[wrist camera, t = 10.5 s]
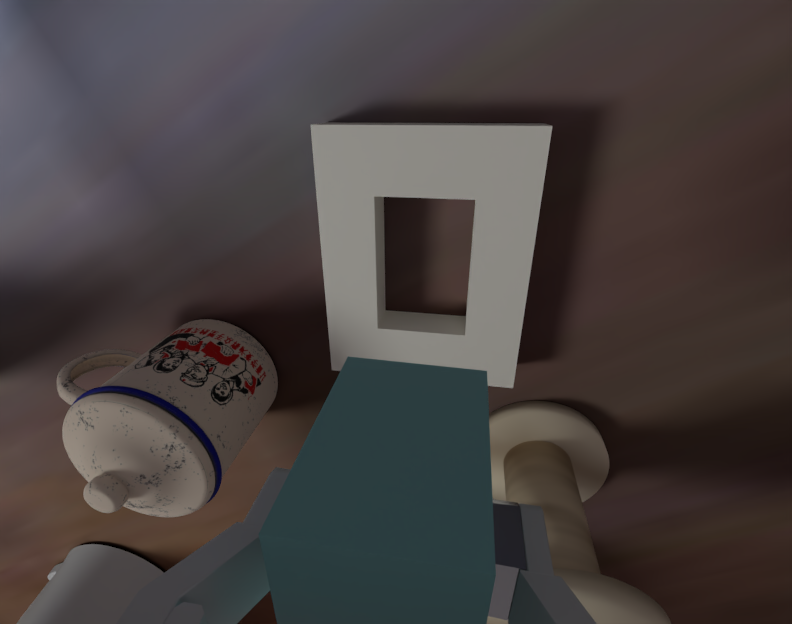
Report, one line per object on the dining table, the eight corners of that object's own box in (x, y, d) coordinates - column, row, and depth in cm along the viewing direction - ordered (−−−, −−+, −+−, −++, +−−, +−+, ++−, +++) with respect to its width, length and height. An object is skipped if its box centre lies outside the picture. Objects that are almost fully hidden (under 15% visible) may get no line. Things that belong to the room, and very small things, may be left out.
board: (510, 365, 26) (512, 388, 24) (342, 350, 28) (331, 370, 26) (544, 123, 20) (552, 125, 18) (326, 122, 22) (310, 124, 20)
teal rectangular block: (465, 532, 13) (460, 755, 8) (355, 514, 13) (296, 716, 9) (487, 370, 10) (495, 575, 6) (347, 356, 11) (258, 533, 6)
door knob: (589, 505, 31) (652, 730, 20) (465, 488, 32) (459, 689, 21) (618, 408, 27) (717, 622, 16) (474, 393, 28) (473, 580, 17)
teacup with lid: (298, 348, 29) (199, 484, 19) (266, 434, 33) (171, 583, 23) (136, 274, 28) (-57, 372, 18) (125, 371, 33) (-36, 494, 22)
